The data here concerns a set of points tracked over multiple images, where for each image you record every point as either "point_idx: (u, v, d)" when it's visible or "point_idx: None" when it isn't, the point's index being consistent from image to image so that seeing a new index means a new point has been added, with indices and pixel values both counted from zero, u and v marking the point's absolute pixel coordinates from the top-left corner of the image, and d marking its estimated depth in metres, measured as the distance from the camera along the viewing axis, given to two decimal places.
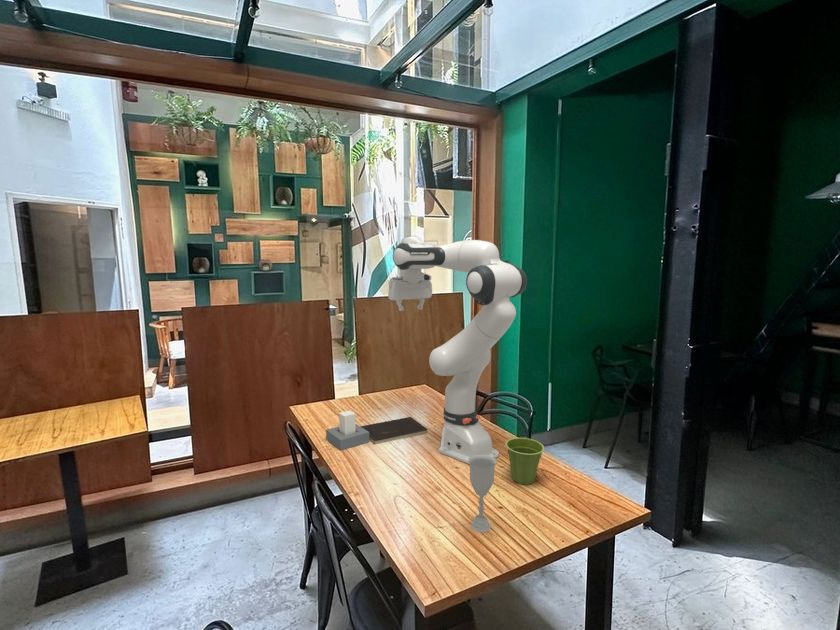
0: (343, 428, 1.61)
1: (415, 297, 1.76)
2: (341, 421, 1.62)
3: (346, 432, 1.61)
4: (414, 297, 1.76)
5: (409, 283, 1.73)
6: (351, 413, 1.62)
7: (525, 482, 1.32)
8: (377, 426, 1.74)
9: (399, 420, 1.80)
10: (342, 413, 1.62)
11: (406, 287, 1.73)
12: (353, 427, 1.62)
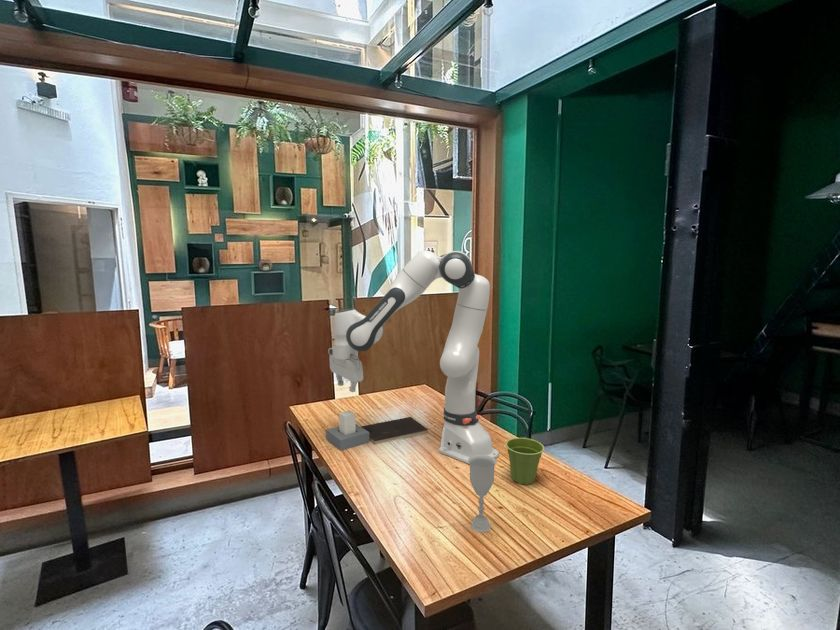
0: (343, 428, 1.61)
1: None
2: (341, 421, 1.62)
3: (346, 432, 1.61)
4: None
5: None
6: (351, 413, 1.62)
7: (525, 482, 1.32)
8: (377, 426, 1.74)
9: (399, 420, 1.80)
10: (342, 413, 1.62)
11: None
12: (353, 427, 1.62)
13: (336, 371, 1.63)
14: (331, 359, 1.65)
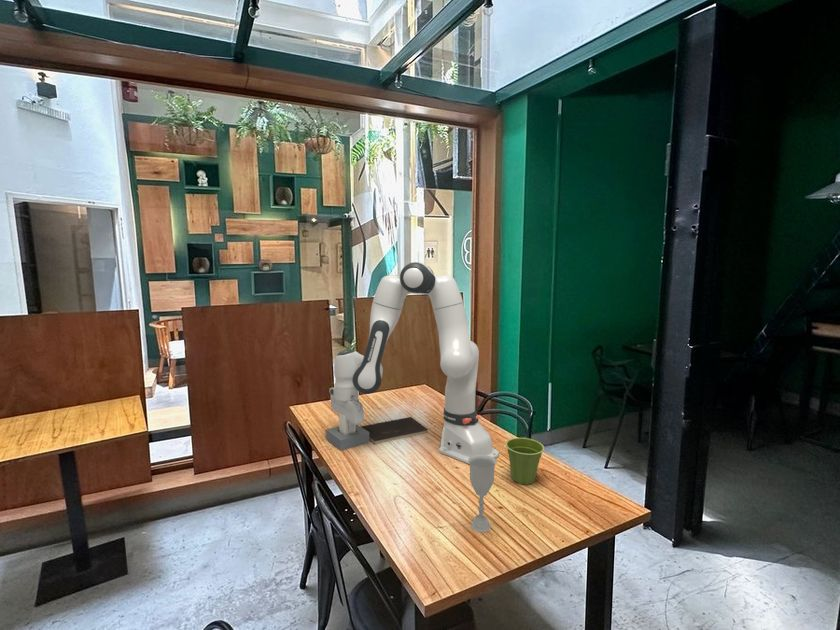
0: (343, 428, 1.61)
1: None
2: (341, 421, 1.62)
3: (346, 432, 1.61)
4: None
5: None
6: None
7: (525, 482, 1.32)
8: (377, 426, 1.74)
9: (399, 420, 1.80)
10: None
11: None
12: None
13: (337, 411, 1.65)
14: (332, 398, 1.67)
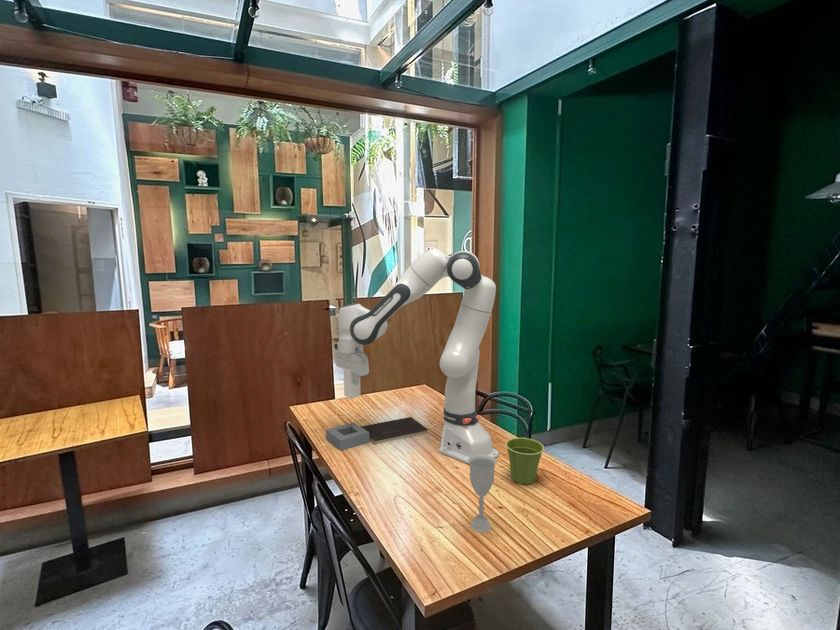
0: (348, 382, 1.60)
1: None
2: (346, 375, 1.61)
3: (351, 386, 1.60)
4: None
5: None
6: None
7: (525, 482, 1.32)
8: (377, 426, 1.74)
9: (399, 420, 1.80)
10: None
11: None
12: None
13: (341, 365, 1.64)
14: (336, 354, 1.66)
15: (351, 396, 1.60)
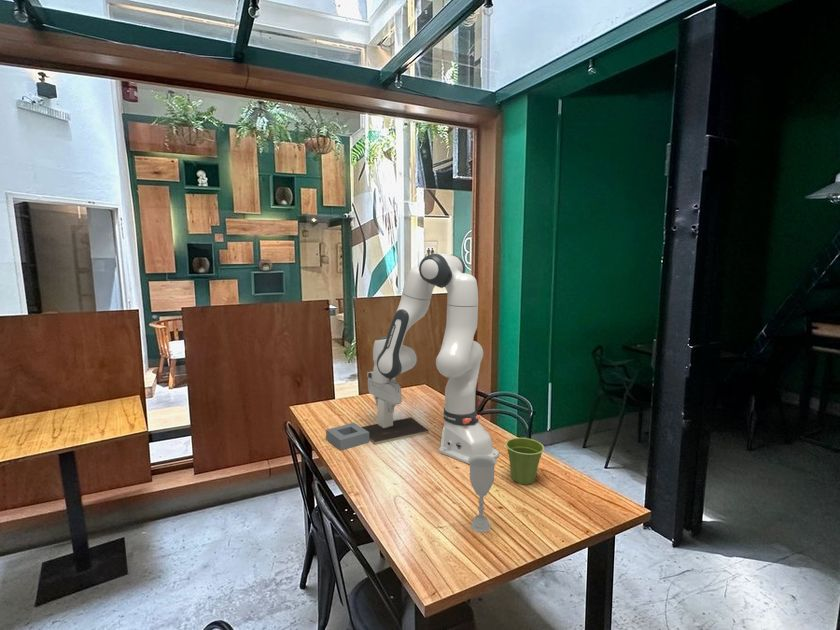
0: (382, 413, 1.73)
1: None
2: (380, 406, 1.73)
3: (385, 416, 1.72)
4: None
5: None
6: None
7: (525, 482, 1.32)
8: (378, 427, 1.74)
9: (399, 421, 1.80)
10: (381, 399, 1.74)
11: None
12: None
13: (375, 393, 1.77)
14: (369, 382, 1.79)
15: (385, 426, 1.73)
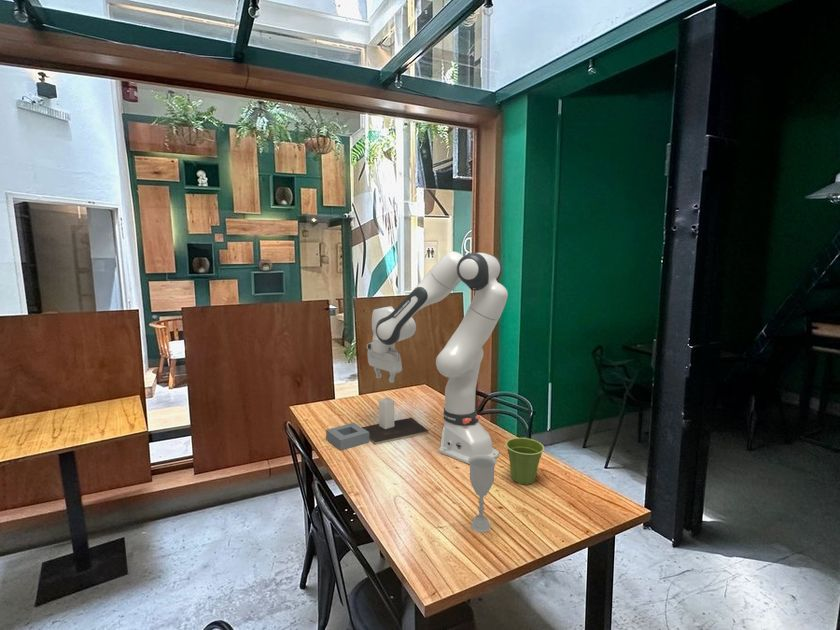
0: (383, 414, 1.72)
1: None
2: (381, 407, 1.72)
3: (386, 417, 1.72)
4: None
5: None
6: (390, 400, 1.73)
7: (525, 482, 1.32)
8: (378, 427, 1.74)
9: (400, 421, 1.80)
10: (382, 400, 1.73)
11: None
12: (392, 413, 1.73)
13: (375, 364, 1.75)
14: (369, 354, 1.77)
15: (386, 427, 1.72)
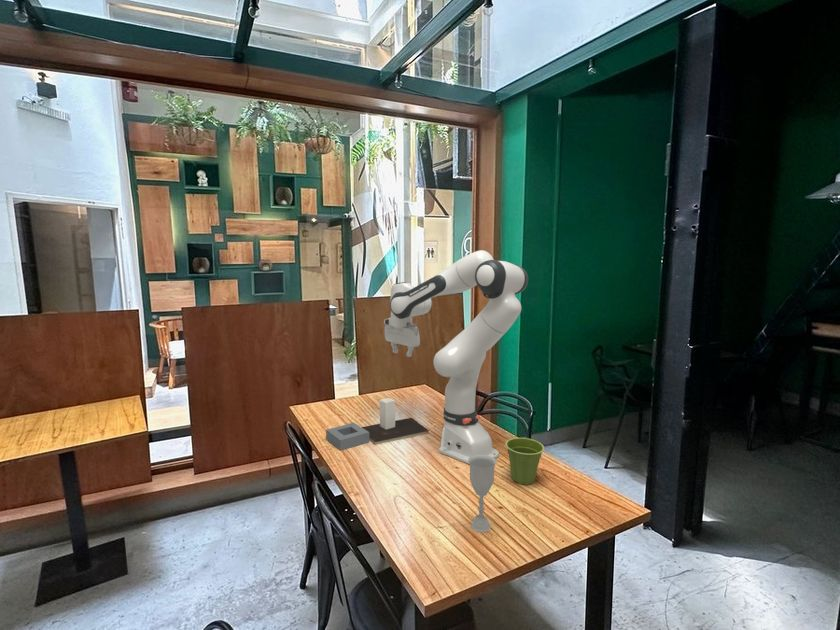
0: (384, 414, 1.71)
1: None
2: (382, 407, 1.72)
3: (387, 418, 1.71)
4: None
5: None
6: (391, 400, 1.73)
7: (525, 482, 1.32)
8: (378, 427, 1.74)
9: (400, 421, 1.80)
10: (382, 400, 1.73)
11: None
12: (393, 413, 1.73)
13: (392, 339, 1.80)
14: (386, 329, 1.82)
15: (387, 427, 1.72)
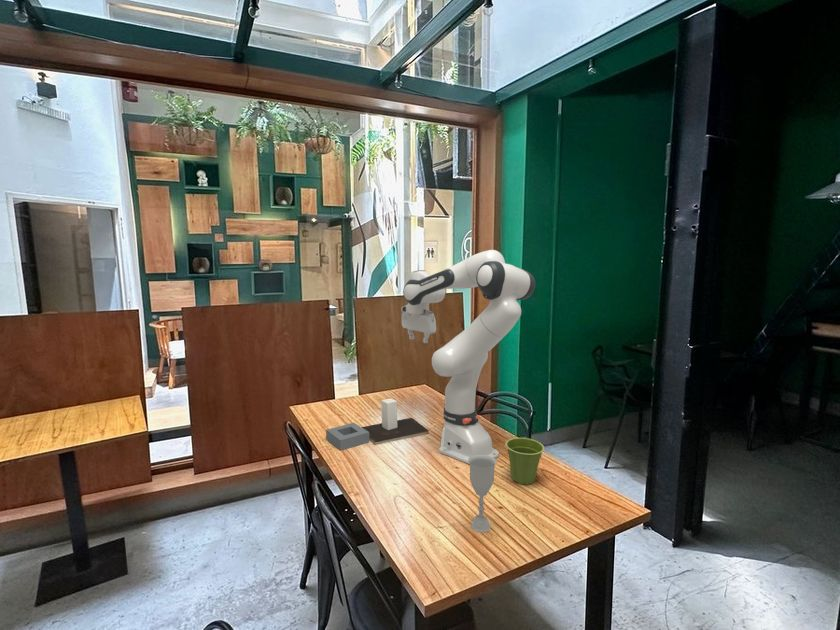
0: (386, 415, 1.71)
1: None
2: (384, 408, 1.71)
3: (389, 418, 1.70)
4: None
5: None
6: (393, 400, 1.72)
7: (525, 482, 1.32)
8: (378, 427, 1.73)
9: (400, 421, 1.80)
10: (384, 401, 1.72)
11: None
12: (395, 414, 1.72)
13: (409, 326, 1.85)
14: (403, 316, 1.87)
15: (389, 428, 1.71)
